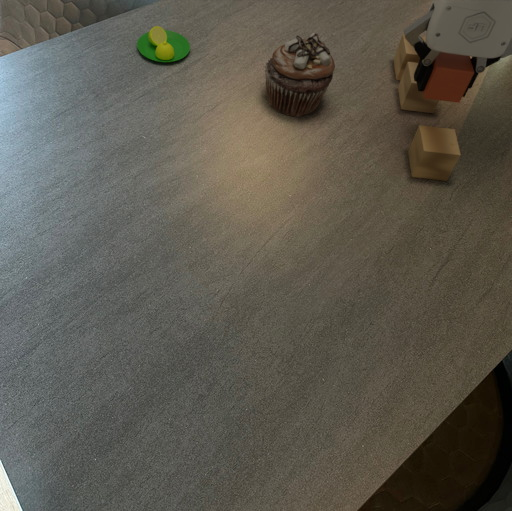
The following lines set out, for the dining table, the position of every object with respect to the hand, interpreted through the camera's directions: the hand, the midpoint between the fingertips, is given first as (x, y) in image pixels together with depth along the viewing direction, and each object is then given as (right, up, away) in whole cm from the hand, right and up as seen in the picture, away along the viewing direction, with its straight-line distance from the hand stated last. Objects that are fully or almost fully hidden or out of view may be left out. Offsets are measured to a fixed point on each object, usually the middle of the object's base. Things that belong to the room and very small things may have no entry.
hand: (440, 86), depth 85 cm
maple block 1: (0, +6, +15) cm, 16 cm away
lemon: (-39, +9, +11) cm, 42 cm away
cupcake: (-20, 0, +8) cm, 21 cm away
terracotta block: (0, 0, 0) cm, 0 cm away
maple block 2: (-1, +1, +11) cm, 11 cm away
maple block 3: (-1, -10, +2) cm, 11 cm away
